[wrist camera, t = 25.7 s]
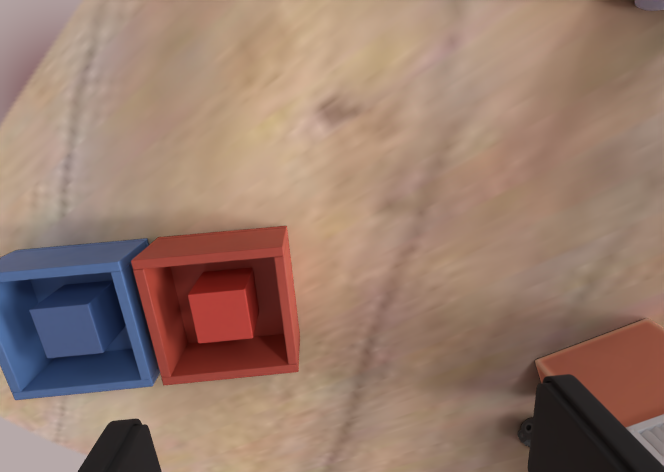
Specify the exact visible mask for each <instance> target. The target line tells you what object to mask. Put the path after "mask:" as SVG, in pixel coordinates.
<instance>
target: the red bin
mask: <svg viewBox="0 0 664 472" xmlns="http://www.w3.org/2000/svg"><path fill="white" fill-rule="evenodd" d="M131 264H132V267H133V272H134V275H135V279H136V283H137V287H138V290H139V294H140V298H141V302H142V306H143V309H144V313H145V317H146V321H147V324H148V328H149V332H150V336H151V340H152V343H153V347H154V351H155V355H156V358H157V362H158V366H159V370H160V374H161V377H162V381H163V385H172V384H182V383H192V382H202V381H212V380H222V379H232V378H242V377H252V376H262V375H272V374H281V373H291V372H298V369H299V345H300V332H299V324H298V316H297V307H296V299H295V290H294V282H293V274H292V265H291V257H290V249H289V240H288V232H287V226H279V227H268V228H256V229H245V230H234V231H223V232H212V233H201V234H190V235H178V236H167V237H158V238H157V239H156V240H155V241H153V242H152V243H151V244H150V245H149V246H148V247H146V248H145V249H144V250H143V251H142V252H141V253H139V254H138V255H137V256H136V257H135V258H134V259H132V260H131ZM251 267H253V272H254V279H255V285H256V292H257V298H258V305H259V315H258V319H257V323H256V327H255V331H254V335H253V338H250V339H239V340H229V341H219V342H209V343H198V339H197V335H196V330H195V326H194V321H193V317H192V312H191V308H190V303H189V298H188V294H189V292H190V291H191V289H192V288H193V286H194V285H195V283H196V282H197V280H198V278H199V277H200V275H201V274H202V272H208V271H218V270H229V269H240V268H251Z"/></svg>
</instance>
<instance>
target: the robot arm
mask: <svg viewBox="0 0 664 472" xmlns="http://www.w3.org/2000/svg"><path fill="white" fill-rule="evenodd" d="M78 472H161V468H160V465H159V461H158V458H157V455H156V451H155V448H154V444H153V441H152V438H151V434H150V431H149V428H148V426H147V425H142V423H141V421H140V420H139V419H128V420H118V421H112V422H110V423H109V424H108V425H107V426H106V428H105V429H104V431H103V433H102V434H101V436H100V437H99V439H98V440H97V442H96V444H95V445H94V447H93V448H92V450H91V451H90V453H89V455H88V456H87V458H86V459H85V461H84V463H83V464H82V466H81V467H80V469H79V470H78ZM528 472H664V466H663V465H662V464H661V463H660V462H659V461H658V460H657V459H656V458H655V457H654V456H653V455H652V454H651V453H650V452H649V451H648V450H647V449H646V448H645V447H644V446H643V445H642V444H641V443H640V442H639V441H638V440H637V439H636V438H635V437H634V436H633V435H632V434H631V433H630V432H629V431H628V430H627V429H626V428H625V427H624V426H623V425H622V424H621V423H620V422H619V421H618V420H617V418H616V417H615V416H614V415H613V414H612V413H611V412H610V411H609V410H608V409H607V408H606V407H605V406H604V405H603V404H602V403H601V402H600V401H599V400H598V399H597V398H596V397H595V396H594V395H593V394H592V393H591V392H590V391H589V390H588V389H587V388H586V387H585V386H584V385H583V384H582V383H581V382H580V381H579V380H578V379H577V378H576V377H574V376H573V375H571V374H564V375H555V376H547V377H545V378H544V379H543V382H542V383H540V384H538V386H537V390H536V399H535V408H534V416H533V425H532V434H531V442H530V451H529V460H528Z"/></svg>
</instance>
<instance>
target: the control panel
mask: <svg viewBox="0 0 664 472" xmlns="http://www.w3.org/2000/svg"><path fill="white" fill-rule="evenodd" d="M535 363H536V366H537V370H538V373H539V377H540V380H541V383H542V382H543V379H544V378H545V377H547V376H555V375H564V374H571V375H573V376H574V377H576V378H577V379H578V380H579V381H580V382H581V383H582V384H583V385H584V386H585V387H586V388H587V389H588V390H589V391H590V392H591V393H592V394H593V395H594V396H595V397H596V398H597V399H598V400H599V401H600V402H601V403H602V404H603V405H604V406H605V407H606V408H607V409H608V410H609V411H610V412H611V413H612V414H613V415H614V416H615V417H616V418H617V420H618V421H619V422H620V423H621V424H622V425H623V426H624V427H625V428H626V429H627V430H628V431H629V432H630V433H631V434H632V435H633V436H634V437H635V438H636V439H637V440H638V441H639V442H640V443H641V444H642V445H643V446H644V447H645V448H646V449H647V450H648V451H649V452H650V453H651V454H652V455H653V456H654V457H655V458H656V459H657V460H658V461H659V462H660V463H661V464H662V465H663V466H664V328H663V327H662V326H660V325H659V324H657V323H655V322H654V321H652V320H651V319H648V318H647V319H643V320H641V321H638V322H635V323H633V324H630V325H627V326H625V327H622V328H619V329H617V330H614V331H611V332H609V333H606V334H603V335H601V336H598V337H595V338H593V339H590V340H587V341H585V342H582V343H579V344H577V345H574V346H571V347H569V348H566V349H563V350H561V351H558V352H555V353H553V354H550V355H547V356H545V357H542V358H539V359H536V360H535Z"/></svg>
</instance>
